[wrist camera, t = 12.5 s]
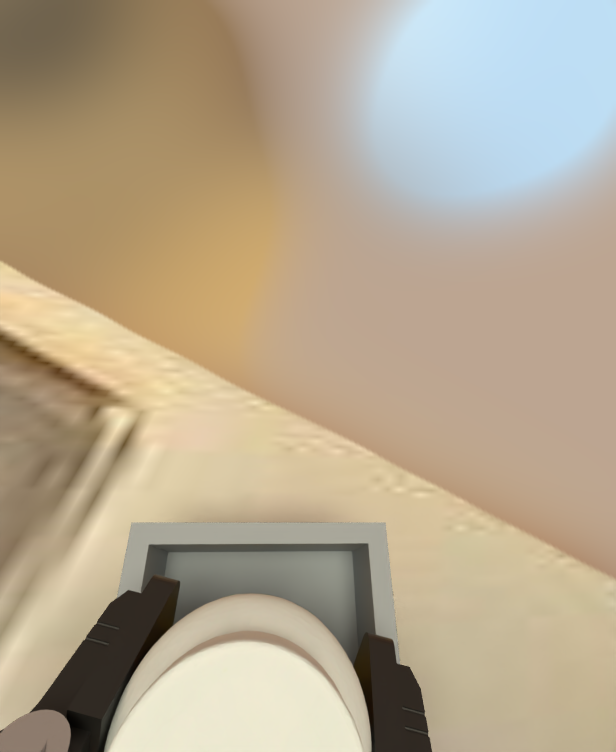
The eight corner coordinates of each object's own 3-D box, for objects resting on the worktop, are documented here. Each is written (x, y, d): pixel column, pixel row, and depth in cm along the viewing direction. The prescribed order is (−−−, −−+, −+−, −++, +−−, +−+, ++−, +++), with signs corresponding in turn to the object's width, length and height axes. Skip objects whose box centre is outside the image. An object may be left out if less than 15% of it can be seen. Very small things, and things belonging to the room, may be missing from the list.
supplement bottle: (175, 812, 12) (-31, 1308, 4) (168, 612, 14) (36, 635, 6) (343, 757, 13) (483, 1051, 5) (310, 579, 15) (362, 560, 7)
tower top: (359, 537, 18) (385, 522, 14) (379, 809, 14) (423, 894, 10) (161, 538, 17) (131, 522, 14) (117, 827, 13) (53, 927, 9)
